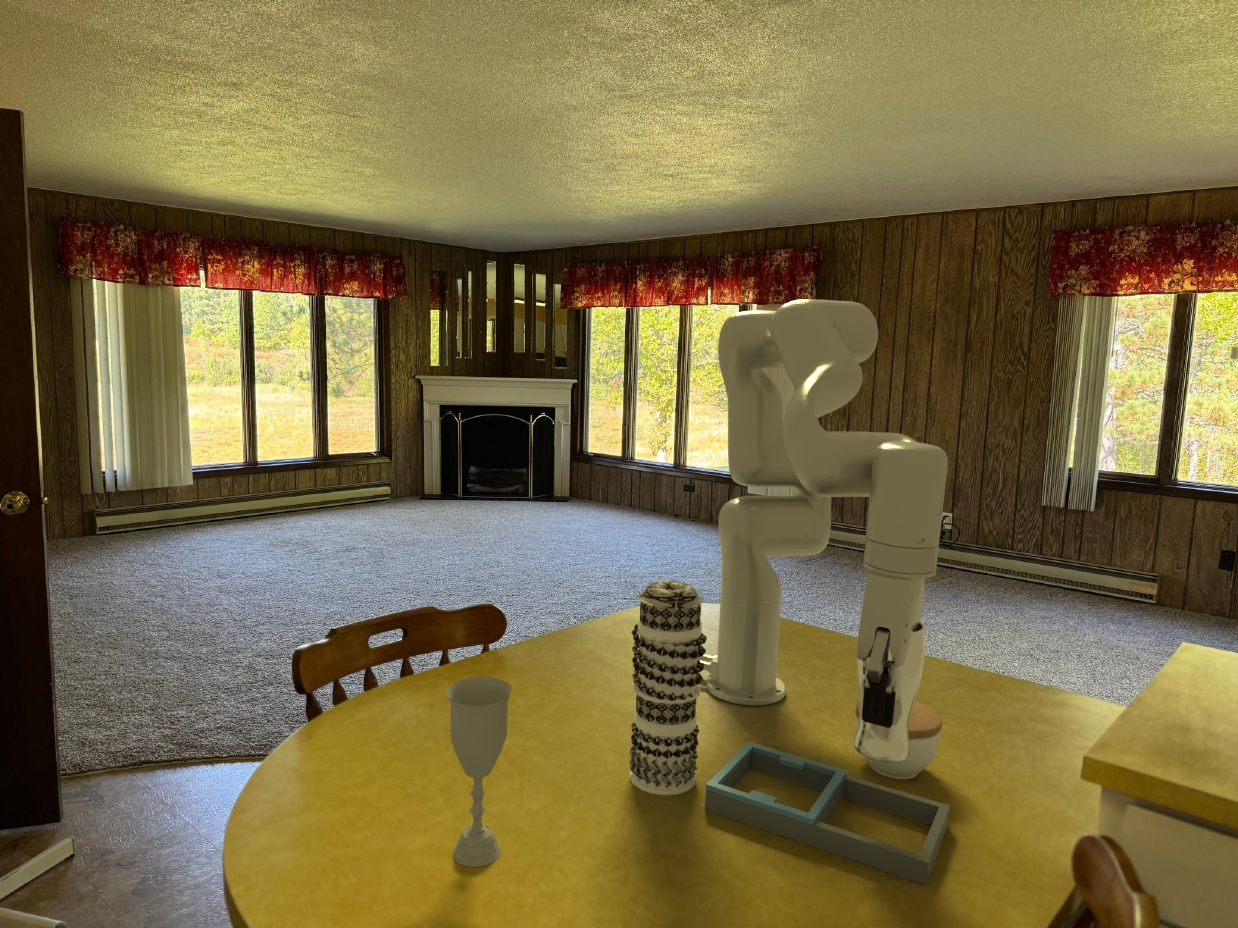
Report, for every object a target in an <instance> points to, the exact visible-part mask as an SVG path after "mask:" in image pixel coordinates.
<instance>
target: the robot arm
mask: <svg viewBox="0 0 1238 928" xmlns="http://www.w3.org/2000/svg"><path fill="white" fill-rule="evenodd" d="M877 323H878V322H877V320H876V317H875V316H874V314H873V312H872V311H871V310H870V309H869V308H868V307H867V306H865V305H864V304H863V303H859V302H855V301H846V300H831V299H830V300H829V299H815V298H812V299H811V298H803V299H795V300H791V301H789V302H786V303H784V304H782V305H780V307H779V308H778V309H776V310H764V309H763V310H761V309H760V310H745V311H740V312H737V313H734V314H732V315H729V317H727V318H726V320H724V322H723V324H722V326H721V328H720V331H719V337H718V344H717V349H718V350H717V351H718V352H717V353H718V354H717V355H718V357H717V358H718V365H719V368H720V369H719V370H720V373H721V377H722V380H723V384H724V386H725V387H724V389H725V392H726V397H727V461H728V471H729V474H730V475H729V476H730V477H731V479H732V481H733V482H735V484H737V485H739V486H744V487H750V488H751V487H753V488H791V489H792V493H793V495H745V496H738V497H735V498H733V499H731V500H729V501H727V502H726V503H724V505H723V506H722V507H721V509H720V511H719V514H718V534H719V543H720V553H721V581H720V582H721V584H720V604H719V606H720V607H719V621H718V622H719V623H718V640H717V654H715V655H709V654H708V653H705V654H704V655H703V656H701V657H699V658H698V660H700V661H701V663H703V664H704V668H703V670H702V671H708V673H709V674H708V675H707V677H706V680H705V681H706V683H705V686H706V690H707V691H708V692H709V693H710V694H711V695H713V696H714V697H716V698H718V699H719V700H722V701H723V702H724V701H725V702H728V703H732V704H737V705H743V706H766V705H771V704H775V703H777V702H779V701H781V700H782V699H783V698H784V697H785V695H786V684H784V682H783V681H782V680H781V679H780V678H779V677H777V671H778V670H777V669H778V655H779V641H780V640H779V638H780V627H781V626H780V623H781V612H782V611H781V610H782V595H783V594H782V593H783V591H782V590H783V588H782V582H781V579H780V577H779V576H778V574H777V572H776V571H775V570H774V568H773V567H772V565H771V564H770V562H769V560H770V558H778V557H807V556H815V555H818V554H820V553H821V552H823V551H824V550H825V549H826V547H827V545H828V544H829V541H830V537H831V529H832V528H831V527H832V498H846V497H847V498H850V497H851V498H852V497H853V498H857V497H858V498H862V497H863V498H869V499H868V509H867V518H866V519H867V521H866V522H867V523H866V530H865V542H864V552H863V553H864V554H863V563H862V565H863V568H865V569H866V570H868V576H867V580H866V584H865V589H864V594H863V600H862V605H861V606H862V607H861V612H860V619H859V620H860V621H859V627H858V634H857V642H856V649H855V656H856V658H858V659H859V660H863V659H866V657H867V656H868V655H869V654H870V650H871V655H870V660H869V663H868V668H867V676H866V681H865V686H864V697H863V707H862V720H863V721H865V722H868V723H872V724H875V725H879V726H883V727H886V728H890V727H891V726H892V724H893V716H894V706H895V696H896V692H894V691H893V687H894V682H895V676H896V669H897V668H898V667H900V666H902V665H903V664H904V661H905V658H906V655H907V651H908V647H909V643H910V638H911V633H912V632H915V631H918V630H919V623H920V622H922V616H923V606H924V595H925V586H926V585H925V584H926V580H927V579H929V578H933V577H935V576H936V575H937V567H938V566H937V565H938V556H939V549H940V548H939V546H940V537H941V536H940V535H941V528H942V520H943V511H944V503H945V502H944V501H945V492H946V483H947V473H948V466H949V465H948V455H947V453H946V452H945V450H944V449H942V448H941V447H940V446H936V445H933V444H929V443H925V442H924V443H923V442H917V441H916V440H915V439H913V438H912V437H910V436H908V435H906V434H904V433H903V434H902V433H898V432H881V431H880V432H879V431H877V432H875V431H873V432H872V431H852V430H851V431H845V430H843V431H842V430H839V431H836V430H835V431H834V430H833V431H831V430H829V431H827V430H825V429H824V428H823V427H822V425H821V424H820V422H819V420H818V418H821V417H823V416H825V415H827V414H830V413H832V412H834V411H837V410H838V409H840V408H842V407H843V406H845V405H846V404H847V403H850V402H851V401H852V400H853V399H854V398H855V396H856V395H857V394H858V393H859V391H860V388H862V387H861V386H862V384H863V380H864V377H863V376H864V375H863V370H862V367H861V366H860V364H861V363H863V362H865V361H866V360H868V359H869V358H870V357H871V356H872V355H873V354H874V351H875V349H876V347H877V344H878V340H879V339H878V338H879V328H878V324H877ZM765 368H774V369H785V370H786V373H787V375H788V377H789V379H790V382H791V383H792V386H793V388H794V390H795V391H794V392H793V393H792V395H791V397H790V398H789V401H788V403H787V404H786V408H785V411H784V410H783V409H784V408H783V406H784V402H783V395H782V393H781V390H780V389H779V387H778V385H777V384H776V382H775V381H774V379H772V377H771V376H770V374H769V373H768V372H767V371H766V370H765ZM783 411H784V412H783ZM783 413H784V414H783ZM889 642H890V643H889ZM888 645H889V648H890V651H891V654H892V657H893V662H892V663H889V662H885V661H884V660H885V656H886V653H887V649H888ZM871 648H872V649H871ZM883 667H885V668H889V669H890V670H889V675H888V677H887V676H886V673H883ZM887 678H888V680H887Z"/></svg>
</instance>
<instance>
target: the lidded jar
mask: <svg viewBox="0 0 1238 928" xmlns="http://www.w3.org/2000/svg"><path fill="white" fill-rule="evenodd" d="M855 716H856V717H855V718H856V719H855V731H856V730H857V727H858V723H859V716H860V702H859V701H858V703H857V704H856V706H855ZM942 727H943V720H942V717H941V716H940V714H939V713H938V712H937V711H936V710H934V709H933V708H932V707H930V706H928V705H926V704H924V703H921V702H919V701H916V700H915V702H914V705H913V708H912V712H911V715H910V720H909V728H908V736H909V747H910V754H909V757H908V758H907V759H906V760H904V761H901V762H896V763H887V762H880V761H876V760H873V759H870V758H867V757H865V756H863V758H864V759H865V760H866V761H867V762H868V764H869V766H870V768H871V769H872V770H873V771H874V772H876V774H878V775H881V776H883V777H886V778H890V779H895V780H911V779H914V778H916V777H917V776H918V775H919V774H920V773H922V772H923V771H924V770H926V769H927V768H928V767H929V766H930V765H931V764H932V762H933V761H934V759H935V757H936V753H937V752H938V748H939V744H940V736H941V730H942Z"/></svg>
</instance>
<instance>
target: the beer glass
mask: <svg viewBox="0 0 1238 928" xmlns="http://www.w3.org/2000/svg"><path fill="white" fill-rule="evenodd" d="M925 633H926V625H925V624H924V623H923V622H922V621H921V622H920V623H919V630H918V631H915V632H912V633H911V638H910V643H909V647H908V651H907V655H906V658H905V661H904V664H903V665H902V666H900V667H898V668H897V669H896V676H895V682H894V687H893V691H894V692H896V696H895V706H894V716H893V724H892V726H891V727H890V728H886V727H883V726H879V725H875V724H872V723H868V722H865V721H863V720H862V707H863V697H864V686H865V681H866V676H867V668H868V663H869V660H870V655H871V650H870V654H869V655H868V656H867V657H866V659H863V660H859V659H858V658H857V657H856V658H857V659H856V670H857V671H856V673H857V676H856V679H857V690H858V699H859V701H858V702H860V716H859V723H858V727H857V730H856V729H855V734H854V737H853V742H852V743H853V747H854V749H855V750H856V751H857V752H858V753H859V754H861V755H862V756H863V757H864V756H865V757H867V758H870V759H873V760H876V761H880V762H887V763H896V762H901V761H904V760H906V759H907V758H908V757H909V754H910V747H909V736H908V728H909V720H910V715H911V712H912V708H913V705H914V702H915V701H916V699H917V695H918V692H919V690H920V689H919V688H920V686H921V680H922V677H923V670H924V661H925V644H926V643H925V641H926V639H925ZM889 643H890V642H889ZM871 649H872V648H871ZM884 661H885V662H889V663H892V662H893V657H892V654H891V651H890V648H889V645H888V649H887V653H886V656H885V660H884ZM889 670H890V669H889V668H885V667H883V673H886V676H887V677H888V675H889ZM887 680H888V678H887Z"/></svg>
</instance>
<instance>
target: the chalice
mask: <svg viewBox="0 0 1238 928" xmlns="http://www.w3.org/2000/svg"><path fill="white" fill-rule="evenodd" d="M445 693H446V694H445V695H446V698H447V700H448V701H449V703H450V742H451V744H452V748H453V750H454V753H455V756H456V758H457V760H458V762H459V764H460V766H461V768H462V771H464V773H465V775H466V776H467V777H469V778H471V779H473V786H472V790H471V791H470V793H469V794H470V795H471V797H472V802H473V803H472V806H471V807H469V813H470V814H471V815H472V819H473V820H472V824H471V825H469V826H466V827H465V829H464V830H463V831H462V832H461V833H460V835H459V838H458V840H457V842H456V845H455V847H454V850H453V851H452V858H453V859H454V861H455V862H457V863H458V864H460V865H461V866H464V867H469V868H470V867H471V868H479V867H484V866H488V865H491V864H492V863H494V862H495V861H497V859H498V858H500V856H501V852H502V849H501V848H502V847H501V846H500V845H499V843H498V839H497V837H496V836H495V835H496V834H495V832H494V831H493V830H492V828H491V827H489V826H488V825H486V824H484V823H483V820H482V819H483V815H484V813H485V812H486V811H487V808H486V806H485V805H484V804H483V798H484V796H485V795H486V790H485V789H484V786H483V780H484V778H486V777H488V776H489V775H490V774H491V773H492V771H493V769H494V768H495V765H496V763H497V761H498V759H499V757H500V755H501V753H502V750H503V747H504V744H505V742H506V738H507V736H508V709H509V707H508V704H509V699H510V697H511V695H512V693H513V687H512V685H511V683H509V682H508V681H505V680H504V679H501V678H498V677H491V676H472V677H467V678H462V679H460V680H456V681H455V682H453V683H451V684H450V685H449V686H448V687H447V688H446V691H445Z"/></svg>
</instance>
